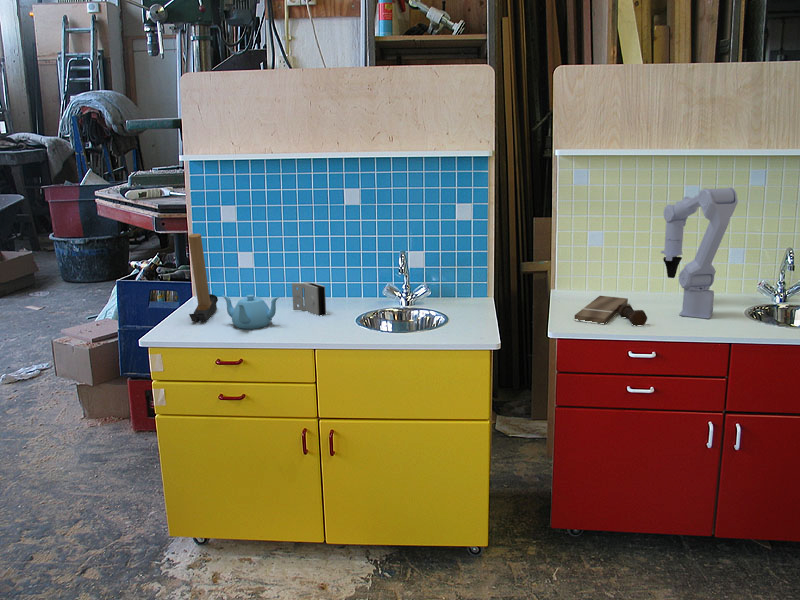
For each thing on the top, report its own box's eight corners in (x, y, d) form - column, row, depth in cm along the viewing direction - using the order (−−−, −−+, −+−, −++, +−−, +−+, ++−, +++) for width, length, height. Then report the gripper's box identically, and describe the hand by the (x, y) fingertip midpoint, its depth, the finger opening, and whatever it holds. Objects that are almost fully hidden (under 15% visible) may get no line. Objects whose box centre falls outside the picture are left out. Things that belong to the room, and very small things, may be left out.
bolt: (622, 319, 255) (640, 330, 241) (610, 312, 254) (628, 323, 240) (631, 304, 254) (650, 314, 240) (619, 297, 254) (637, 307, 239)
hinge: (292, 310, 267) (291, 283, 265) (303, 307, 271) (302, 280, 269) (320, 316, 259) (319, 287, 256) (331, 313, 263) (330, 285, 261)
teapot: (264, 317, 260) (262, 288, 257) (283, 326, 247) (281, 296, 245) (223, 324, 252) (221, 294, 249) (241, 334, 240) (238, 303, 237)
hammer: (206, 329, 253) (194, 246, 241) (191, 329, 253) (178, 246, 241) (219, 304, 272) (208, 225, 259) (205, 304, 272) (194, 225, 259)
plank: (627, 303, 267) (627, 298, 267) (604, 324, 242) (605, 318, 242) (599, 300, 272) (599, 295, 272) (574, 321, 247) (574, 314, 247)
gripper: (666, 235, 269) (663, 272, 273) (657, 241, 257) (655, 280, 261) (686, 236, 266) (684, 274, 269) (679, 243, 254) (676, 282, 257)
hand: (671, 277), depth 265 cm, fingers closed
